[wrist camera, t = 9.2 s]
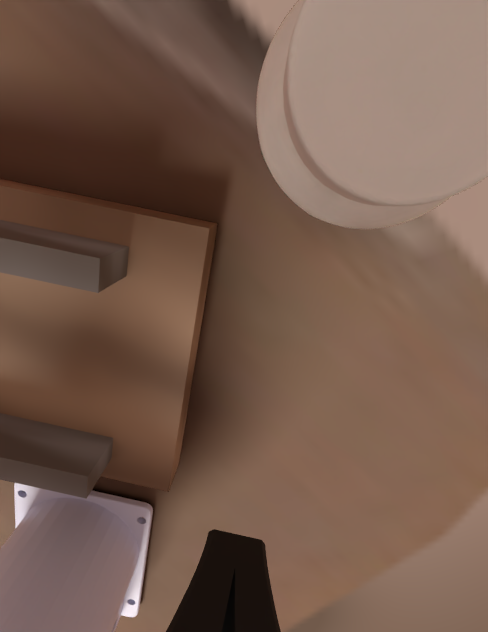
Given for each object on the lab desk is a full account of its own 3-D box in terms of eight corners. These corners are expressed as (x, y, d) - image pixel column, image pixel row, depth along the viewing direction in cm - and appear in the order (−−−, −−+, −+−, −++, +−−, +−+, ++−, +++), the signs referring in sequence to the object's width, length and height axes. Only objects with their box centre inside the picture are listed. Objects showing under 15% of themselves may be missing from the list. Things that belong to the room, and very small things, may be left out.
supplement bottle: (436, 102, 14) (732, -51, 5) (359, 234, 16) (467, 303, 7) (307, 31, 13) (365, -282, 4) (243, 174, 15) (189, 160, 6)
